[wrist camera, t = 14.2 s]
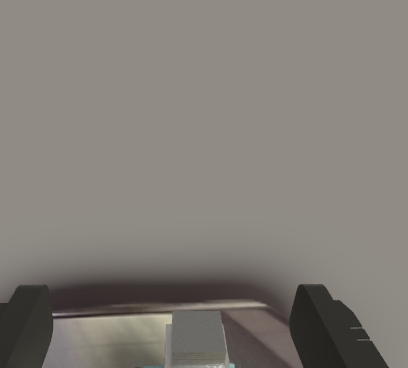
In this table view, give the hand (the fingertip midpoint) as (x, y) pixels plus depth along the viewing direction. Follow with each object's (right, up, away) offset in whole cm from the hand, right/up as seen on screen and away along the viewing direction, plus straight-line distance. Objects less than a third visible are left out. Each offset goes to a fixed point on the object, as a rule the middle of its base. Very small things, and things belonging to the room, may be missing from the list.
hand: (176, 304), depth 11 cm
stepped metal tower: (0, -19, +20) cm, 28 cm away
